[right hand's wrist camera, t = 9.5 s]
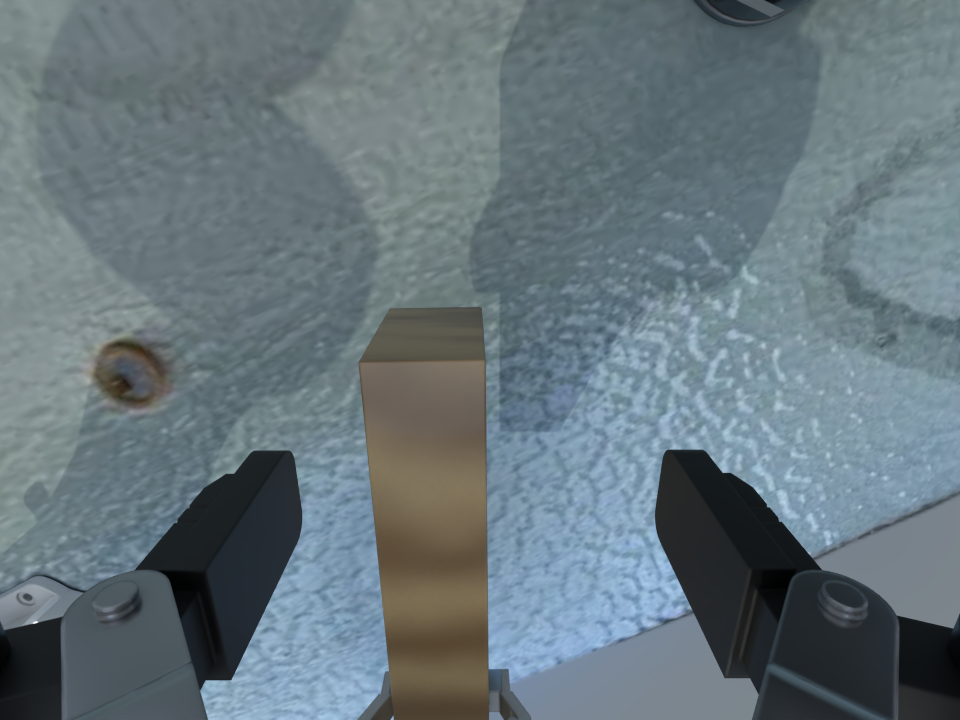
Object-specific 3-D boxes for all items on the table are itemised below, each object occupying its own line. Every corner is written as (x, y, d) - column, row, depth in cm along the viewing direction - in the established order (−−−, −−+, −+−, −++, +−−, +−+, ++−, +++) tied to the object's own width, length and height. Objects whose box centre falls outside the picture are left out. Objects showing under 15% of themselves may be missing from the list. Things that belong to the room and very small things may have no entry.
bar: (389, 307, 29) (357, 361, 21) (481, 306, 29) (485, 359, 21) (416, 670, 38) (401, 802, 30) (486, 668, 38) (489, 799, 30)
